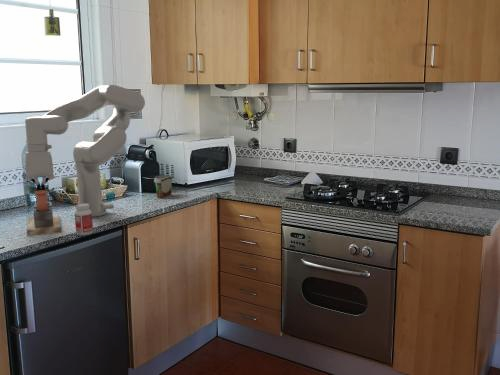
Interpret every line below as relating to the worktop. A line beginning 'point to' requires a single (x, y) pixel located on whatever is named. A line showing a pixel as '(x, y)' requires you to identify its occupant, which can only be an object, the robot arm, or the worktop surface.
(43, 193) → the red plug
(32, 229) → the board
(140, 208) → the worktop surface
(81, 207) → the pill bottle
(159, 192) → the food container
